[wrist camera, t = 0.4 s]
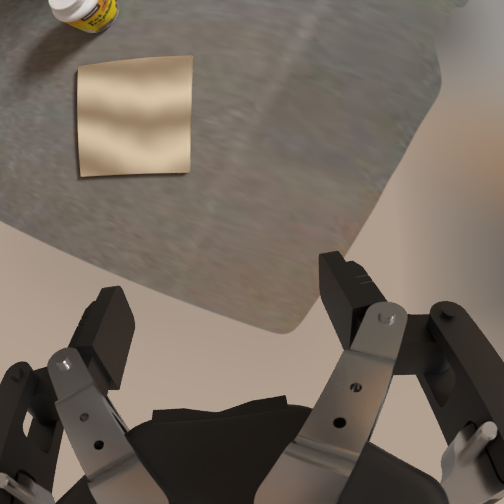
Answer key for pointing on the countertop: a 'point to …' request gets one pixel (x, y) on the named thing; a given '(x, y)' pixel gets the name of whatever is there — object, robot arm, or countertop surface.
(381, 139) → the countertop surface
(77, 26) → the supplement bottle
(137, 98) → the oak board
